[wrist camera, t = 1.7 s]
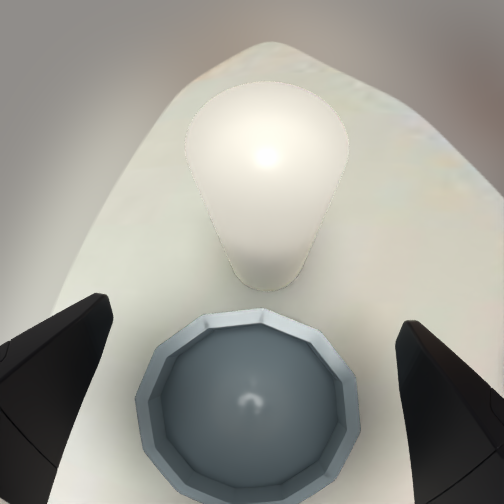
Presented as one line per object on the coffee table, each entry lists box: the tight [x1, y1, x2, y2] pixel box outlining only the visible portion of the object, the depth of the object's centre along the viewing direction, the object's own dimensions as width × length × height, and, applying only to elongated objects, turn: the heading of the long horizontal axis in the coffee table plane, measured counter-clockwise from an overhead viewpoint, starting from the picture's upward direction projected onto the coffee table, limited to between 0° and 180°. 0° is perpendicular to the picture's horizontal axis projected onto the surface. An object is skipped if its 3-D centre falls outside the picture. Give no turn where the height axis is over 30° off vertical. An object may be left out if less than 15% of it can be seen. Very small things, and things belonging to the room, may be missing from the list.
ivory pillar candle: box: [185, 81, 349, 292], centre depth 15 cm, size 5×5×13 cm
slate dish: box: [135, 308, 361, 504], centre depth 17 cm, size 13×13×3 cm
